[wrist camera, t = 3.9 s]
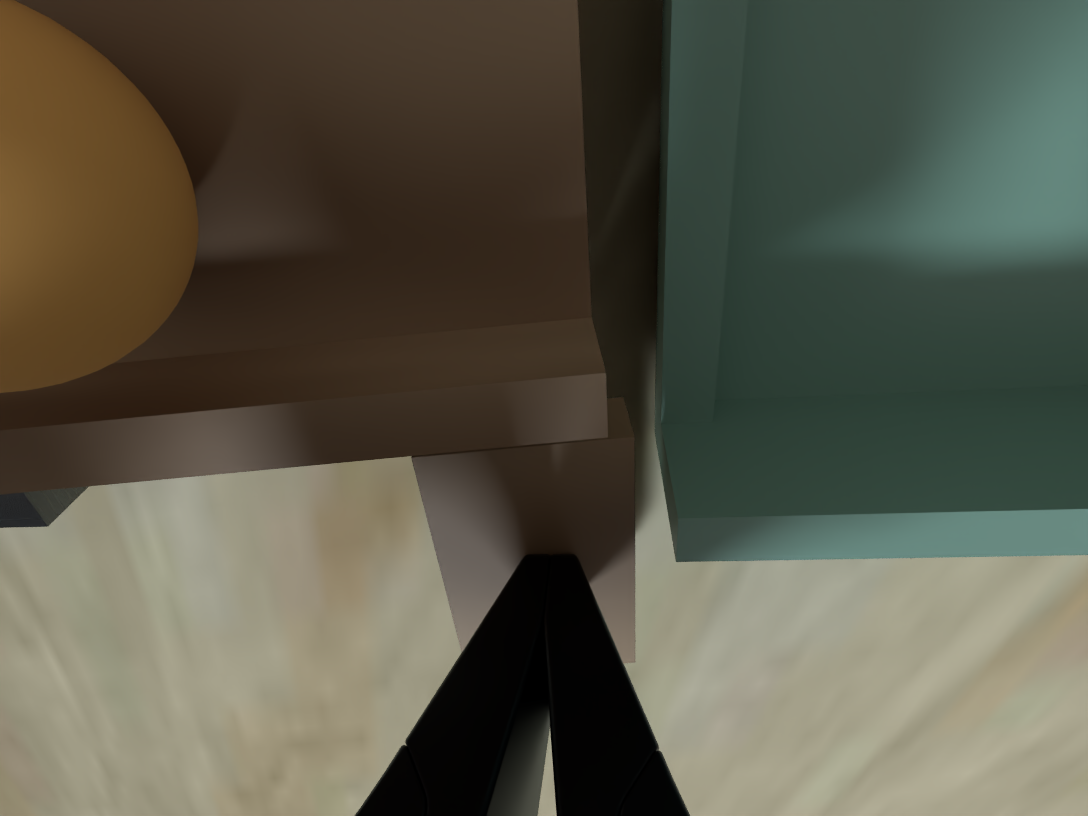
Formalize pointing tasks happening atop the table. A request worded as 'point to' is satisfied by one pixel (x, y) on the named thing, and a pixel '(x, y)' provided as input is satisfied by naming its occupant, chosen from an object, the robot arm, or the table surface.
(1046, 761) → the table surface
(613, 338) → the table surface
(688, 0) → the tray
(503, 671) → the robot arm
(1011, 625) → the table surface
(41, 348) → the ball
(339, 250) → the chute
